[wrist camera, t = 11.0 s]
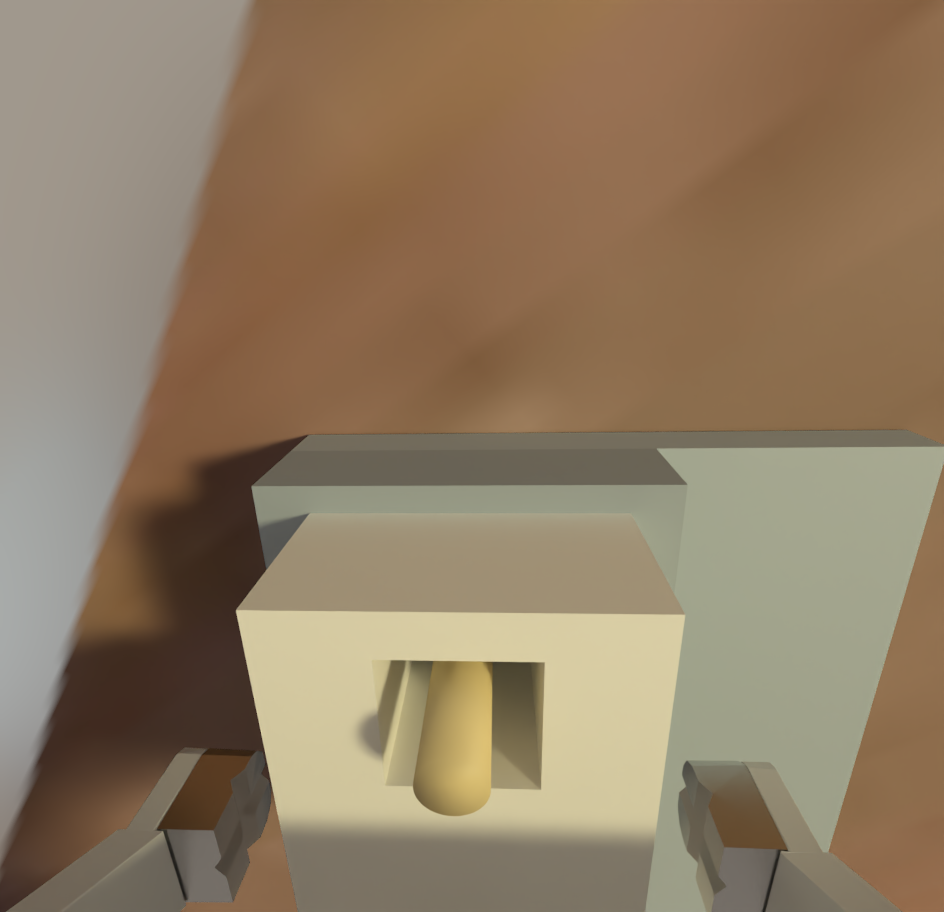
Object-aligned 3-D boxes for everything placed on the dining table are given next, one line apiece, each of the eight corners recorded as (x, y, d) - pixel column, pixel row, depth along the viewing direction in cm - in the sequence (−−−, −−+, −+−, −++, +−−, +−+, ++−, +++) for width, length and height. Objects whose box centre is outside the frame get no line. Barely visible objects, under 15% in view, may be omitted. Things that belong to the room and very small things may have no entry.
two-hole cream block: (598, 878, 13) (626, 1047, 10) (359, 870, 13) (322, 1031, 11) (631, 513, 10) (684, 614, 7) (309, 512, 10) (235, 610, 7)
